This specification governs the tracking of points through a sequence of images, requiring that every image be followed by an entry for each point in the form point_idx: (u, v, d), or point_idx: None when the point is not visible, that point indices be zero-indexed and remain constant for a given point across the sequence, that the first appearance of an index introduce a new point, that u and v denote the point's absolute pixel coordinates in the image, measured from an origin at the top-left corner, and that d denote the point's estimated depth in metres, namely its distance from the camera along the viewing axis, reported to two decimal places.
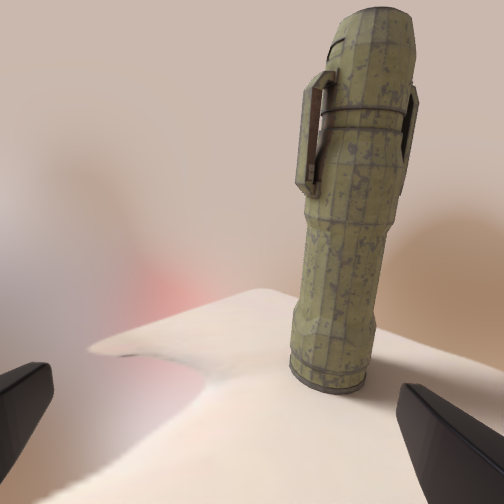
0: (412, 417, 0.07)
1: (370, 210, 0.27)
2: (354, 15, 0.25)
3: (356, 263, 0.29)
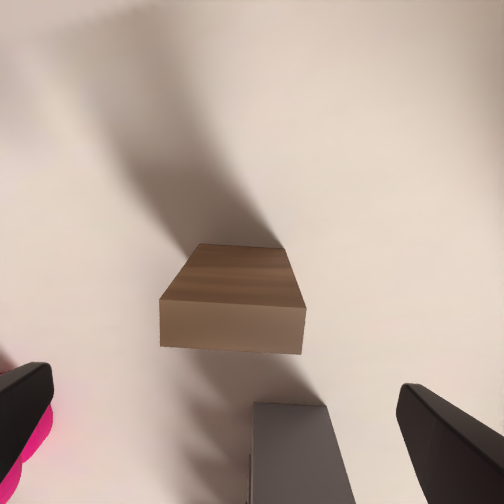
0: (412, 417, 0.07)
1: None
2: None
3: None
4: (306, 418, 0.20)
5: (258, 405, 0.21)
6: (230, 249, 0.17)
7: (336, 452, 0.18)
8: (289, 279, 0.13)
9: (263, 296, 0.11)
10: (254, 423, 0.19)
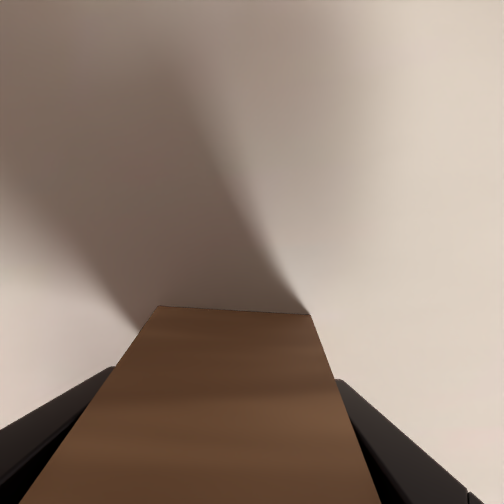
0: None
1: None
2: None
3: None
4: None
5: None
6: (211, 320, 0.09)
7: None
8: (347, 459, 0.05)
9: None
10: None
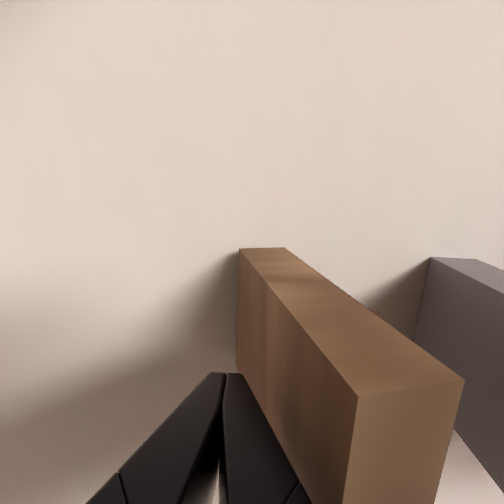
0: None
1: None
2: None
3: None
4: (439, 306, 0.11)
5: None
6: (240, 333, 0.12)
7: (498, 299, 0.09)
8: (286, 320, 0.07)
9: (321, 434, 0.05)
10: None
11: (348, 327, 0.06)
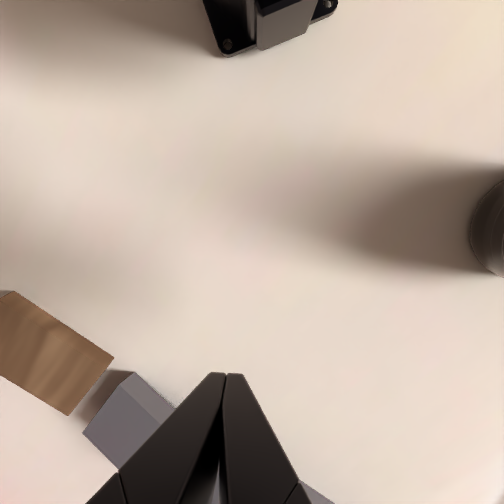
0: None
1: None
2: None
3: None
4: (119, 412, 0.21)
5: (87, 433, 0.22)
6: None
7: (156, 424, 0.20)
8: (67, 349, 0.20)
9: (84, 376, 0.21)
10: (100, 450, 0.21)
11: (90, 346, 0.21)
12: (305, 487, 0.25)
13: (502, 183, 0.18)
